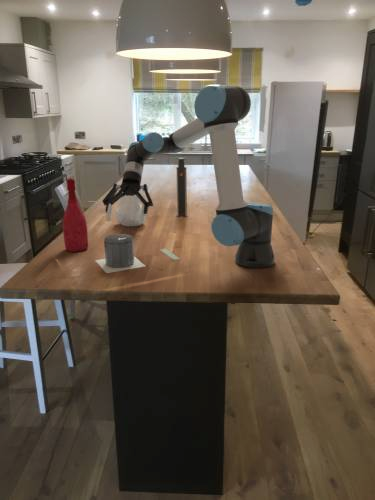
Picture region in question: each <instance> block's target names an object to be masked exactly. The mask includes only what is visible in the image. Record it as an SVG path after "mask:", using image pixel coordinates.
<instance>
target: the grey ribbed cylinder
mask: <svg viewBox="0 0 375 500" xmlns="http://www.w3.org/2000/svg"><path fill="white" fill-rule="evenodd" d="M133 237H134V236H132V235H130V234H128V233H127V234H126V233H117V234H115V233H114V234H110V235H107V236H105V237H104V241H103V244H104V245H103V246H104V247H103V248H104V259H105V261H106V265H107V266H108V267H112V268H124V267H129V266H131V265H133V264H134V257H135V251H134V249H135V247H134V238H133Z"/></svg>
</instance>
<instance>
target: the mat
mask: <svg viewBox="0 0 375 500" xmlns="http://www.w3.org/2000/svg"><path fill="white" fill-rule="evenodd" d="M160 251H161V252H162V253H164V254H165V255H166V256H169V257H170V259H172V260H175V261H177V260H180V259H181V258H180V257H179V256H176V255H175V253H173V252H171V251H169V250H168V249H166V248H162V249H161V248H160Z"/></svg>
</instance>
